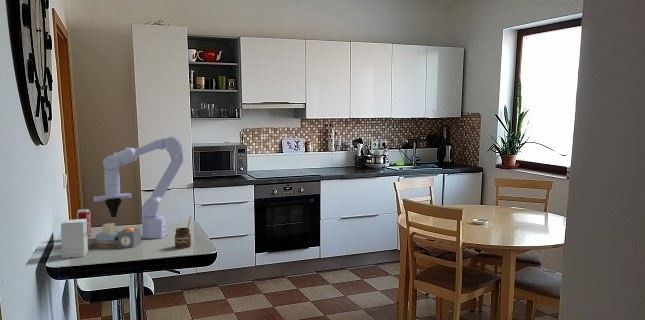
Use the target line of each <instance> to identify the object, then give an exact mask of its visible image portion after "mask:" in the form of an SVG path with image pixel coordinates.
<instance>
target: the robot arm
mask: <svg viewBox="0 0 645 320" xmlns="http://www.w3.org/2000/svg"><path fill="white" fill-rule="evenodd" d="M154 150H166V151H167V152H168V155H169V158H170V163H169V164H168V166H167V168H166V169H165V171H164V173H163V175H162V177H161V178H160V180H159V182H158V183H157V186H155V189H153V192H152V193H151V195H150V197H149V198H148V199H146V200H145V201H144V203H143V205H142V206H141V212H142V214H141V239H162V238H164V237H165V236H167V235H168V232H167V231H168V230H167V229H168V228H167V218H166V216H165V215H160V214H161V213H160V212H158V211H159V208H160V203H161V202H162V199H163V198H164V196H165V195H166V192H167V191H168V189H169V187H170V185H172V182H173V180H174V178H175V177H176V175H177V174H178V171H179V170H180V168H181V166H182V164H183V163H184V155H183V153H184V152H183V145H182V143H181V141H180V140H179V138H178V137H176V136H168V137H167V138H166V137H165V138H161V139H156V140H154V141H151V142H149V143H147V144H144V145H141V146H140V147H137V148H133V147H128V146H127V147H124V149H123V150H121V151H118V152H113V153H112V155H111V154H110V155H107V156H106V157H105V158H103V161H102V165H103V167H104V170H103V171H104V194H103V195H96V196H93V202H95V203H97V202H103V201H104V203H105V205H106V207H107V208H108V211H109V214H110V217H111V218H116V217H117V213H118V211H119V208H120V205H121V203H122V199H132V192H125V193H121V184H120V183H121V177H120V167H121V166H125V165H128V164H130V163H133V162H136V161H137V160H138V158H139V156H141V155H145V154H147V153H150V152H152V151H154Z"/></svg>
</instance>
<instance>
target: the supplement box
mask: <svg viewBox="0 0 645 320" xmlns="http://www.w3.org/2000/svg"><path fill="white" fill-rule="evenodd" d="M60 234H61V237H60V238H61V258H62V259H68V258H69V259H70V258H71V257H72V258H81V257H82V258H84V257H85V256H86V255H87V253H88V252H89V248H88V236H87V219H77V218H75V219H65V220H64V221H63V222H61V223H60Z"/></svg>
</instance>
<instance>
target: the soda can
mask: <svg viewBox="0 0 645 320" xmlns="http://www.w3.org/2000/svg"><path fill="white" fill-rule="evenodd" d="M91 215H92V214H91V211H90V209H88V208H85V209H84V208H82V209H78V210H77V212H76V219H87V232H88V238H92V222H91V221H92V220H91V219H92V218H91Z"/></svg>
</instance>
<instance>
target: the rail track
mask: <svg viewBox="0 0 645 320" xmlns="http://www.w3.org/2000/svg"><path fill="white" fill-rule="evenodd" d="M87 236H88V232H87ZM88 249H118V239H116V240H114V241H96V237H91V238H88Z"/></svg>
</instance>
